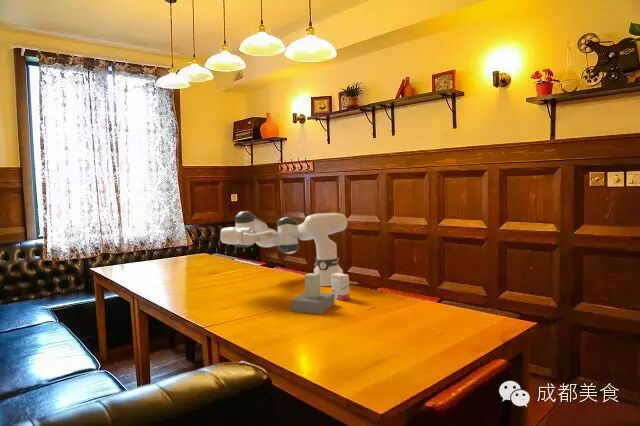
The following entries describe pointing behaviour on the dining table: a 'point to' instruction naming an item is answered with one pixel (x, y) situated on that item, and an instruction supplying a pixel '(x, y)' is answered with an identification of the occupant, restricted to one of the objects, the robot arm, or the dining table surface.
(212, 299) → the dining table surface
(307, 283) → the sage block
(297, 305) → the gray block
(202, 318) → the dining table surface
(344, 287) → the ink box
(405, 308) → the dining table surface
